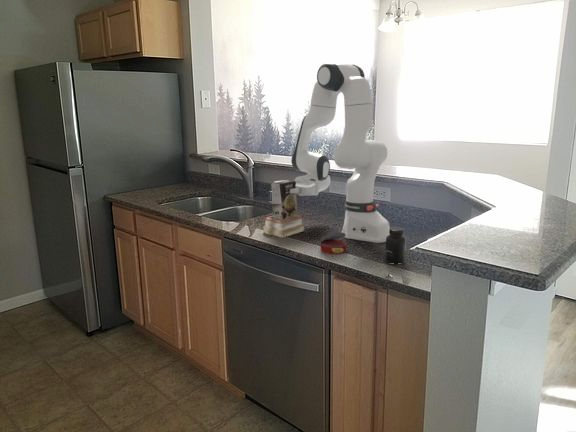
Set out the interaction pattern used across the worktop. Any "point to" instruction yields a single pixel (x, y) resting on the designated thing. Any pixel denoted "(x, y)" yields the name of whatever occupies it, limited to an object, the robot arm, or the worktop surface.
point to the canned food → (333, 243)
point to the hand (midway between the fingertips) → (282, 190)
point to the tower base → (283, 232)
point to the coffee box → (283, 200)
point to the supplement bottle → (395, 246)
